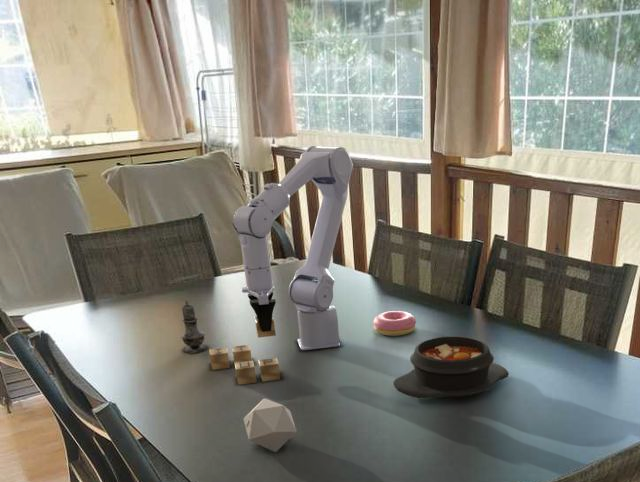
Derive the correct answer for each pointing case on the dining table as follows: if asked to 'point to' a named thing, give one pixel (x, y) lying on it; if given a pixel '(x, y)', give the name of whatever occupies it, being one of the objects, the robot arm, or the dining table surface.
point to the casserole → (450, 369)
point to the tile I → (219, 358)
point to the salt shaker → (192, 330)
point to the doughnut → (394, 323)
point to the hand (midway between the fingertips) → (265, 327)
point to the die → (270, 425)
